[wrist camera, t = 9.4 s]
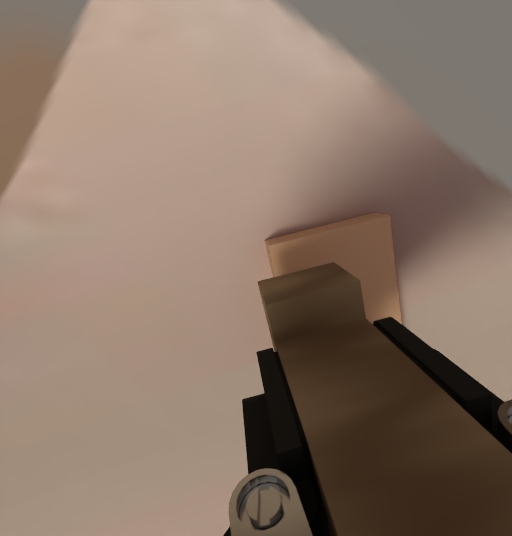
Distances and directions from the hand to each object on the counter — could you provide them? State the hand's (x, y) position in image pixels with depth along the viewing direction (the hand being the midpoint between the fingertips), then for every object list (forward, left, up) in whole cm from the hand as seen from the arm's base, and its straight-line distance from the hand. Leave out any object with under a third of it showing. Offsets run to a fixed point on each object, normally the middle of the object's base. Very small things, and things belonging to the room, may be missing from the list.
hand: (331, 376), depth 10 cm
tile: (+1, 0, -5) cm, 5 cm away
